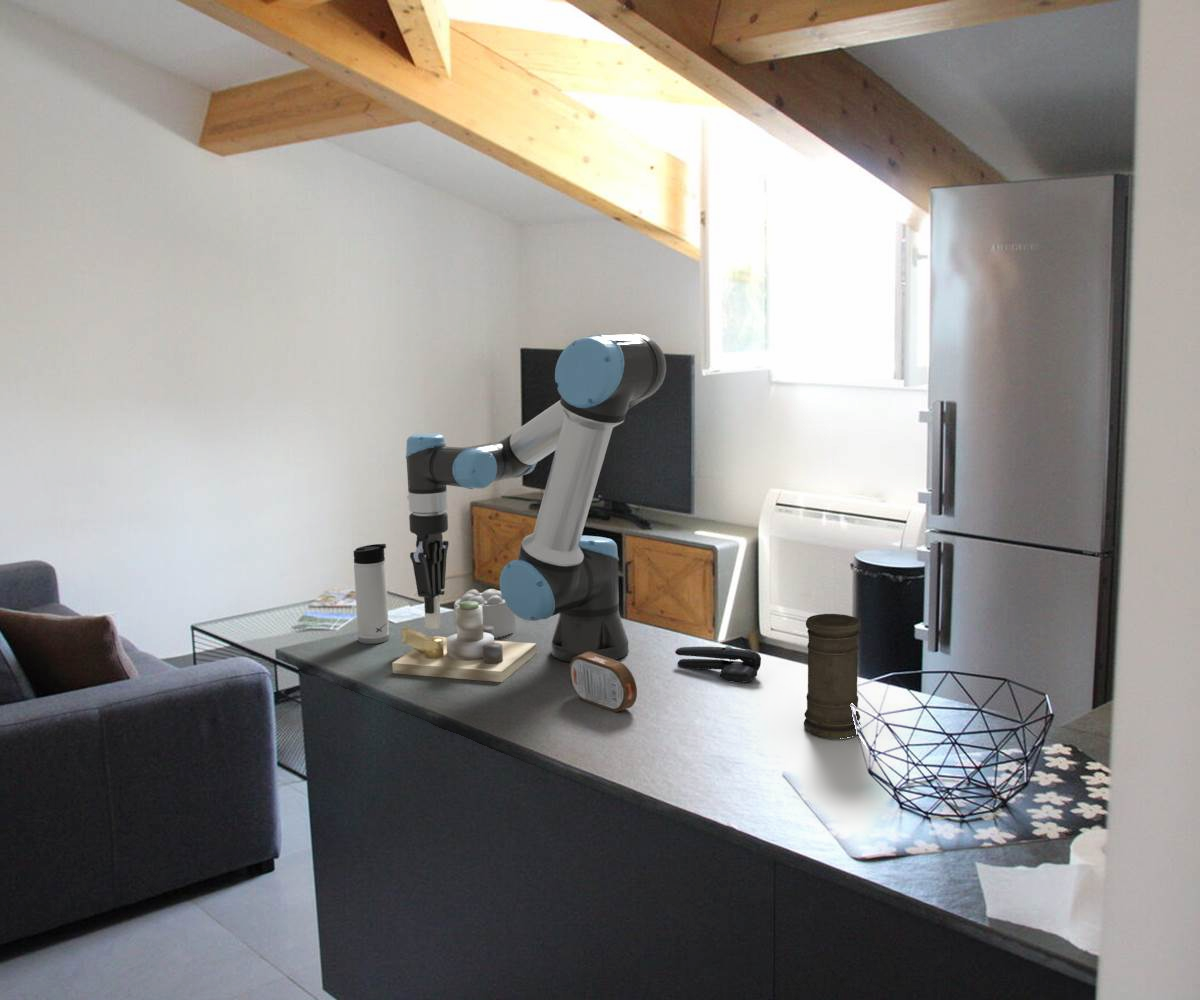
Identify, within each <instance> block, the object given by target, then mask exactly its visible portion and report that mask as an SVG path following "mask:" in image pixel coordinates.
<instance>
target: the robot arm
mask: <svg viewBox="0 0 1200 1000" xmlns="http://www.w3.org/2000/svg"><path fill="white" fill-rule="evenodd" d="M554 370H555V371H554V372H555V373H554V380H555V384H557V392H558V394H559V395H560V396H561V397H560V400H557V402H555V403H554V404H552V405H551V406H549V407H548V408H546V409H544V411H542V412H541V413H539V414H538V415H536V416H535V417H533V418H532V419H531V420H529V421H528V422H526V423H525V424H523V425H522V426H520V427H519V428H517V429H516V430H514V431H513V432H512V433H511V434H509V435H508V436H506V437H505V438H503V439H502V440H499V441H496V442H489V443H485V444H478V445H472V446H464V447H461V446H460V447H459V446H447V445H446V441H445V437H444V435H442V434H441V433H440V434H439V433H417V434H411V435H410V436H409V437H408V438H407V439H406V448H405V450H406V452H405V453H406V454H405V459H406V472H407V473H406V474H407V488H408V489H407V491H408V492H407V493H408V495H407V496H406V497H407V500H408V510H409V512H411V513H410V514H409V515H408V516H409V517H408V518H409V519H408V520H409V531H410V533H412V534H415V535H416V542H415V547H416V549H415V552H410V555H409V557H410V558H409V559H410V561H411V562H412V566H413V571H414V572H413V573H414V578H415V584H416V585H415V586H416V592H417V596H418V597H419V598H423V601H424V602H423V604H424V626H425V627H424V628H425V629H431V630H432V629H433V630H438V629H440V628H441V626H442V622H441V621H442V620H441V604H440V603H441V602H440V601H441V600H440V595H441V596H444V595H445V592H446V591H445V590H444V589H445V587H446V574H447V573H446V572H447V557H448V556H447V553H448V548H449V543H450V542H449V541H448V540H443V533H445V532H447V531H448V530H449V521H448V515H449V514H448V513H447V510H448V494H447V486H449V487H450V486H451V487H457V488H458V487H459V488H465V489H468V490H473V489H481V490H482V489H486V488H488V487H489V486H490V484H491V483H494V482H497V481H502V480H507V479H516V478H521V477H523V476H524V475H525V476H526V475H528V474H530V473H532V472H533V471H534V470H535V467H536V465H537V464H538V462H540V461H541V460H543V459H544V458H546V457H547V456H549V455H550V454H552V453H553V452H554V455H553V459H552V461H551V467H550V470H549V473H548V477H547V481H546V484H545V485H546V486H545V487H544V488H545V489H544V492H543V496H542V500H541V502H540V507H539V510H538V514H537V518H536V521H535V525H534V528H533V532H532V533H531V534H529V535H526V536H524V537H523V539H522V541H521V545H520V548H519V551H518V555H517V559H512V560H511V561H509V562H508V563H507V564H506V565H505V566H504V567H503V568H502V569H501V572H500V576H499V591H501V594H502V597H503V598H504V599H505V603H506V605H507V606H508V608H509V609H510V610H511V611H512V612H513V613H514V614H515V615H516V616H517V618H520V619H521V620H523V621H527V622H537V621H541V620H547V619H549V618H551V617H553V616H556V615H558V619H557V622H556V626H555V628H554V631H553V635H552V639H551V643H550V645H551V647H550V648H551V651H550V652H551V655H552V657H554V658H555V659H557V660H560V661H562V662H568V663H571V661H572V659H573V658H575V657H576V656H579V655H581V654H583V653H585V652H593V653H596V654H598V655H601V656H604V657H607V658H610V659H613V660H616V661H618V660H619V659H622V658H624V657H626V656H627V655H628V653H629V652H630V651H629V648H630V646H629V639H628V635H627V633H626V630H625V626H624V623H623V621H622V618H621V615H620V610H619V609H620V605H619V600H620V598H619V593H620V592H619V561H620V557H619V555H618V545H617V543H616V542H615V540H613V539H612V538H607V537H603V536H597V535H596V536H594V535H583V532H584V528H585V524H586V522H587V518H588V516H589V511H590V508H591V505H592V502H593V498H594V494H595V491H596V486H597V484H598V480H599V476H600V472H601V470H602V467H603V464H604V460H605V455H606V454H607V453H606V452H607V449H608V445H609V442H610V439H611V436H612V432H613V429H614V428H615V427H618V426H619V425H621V424H622V423H624V421H625V419H626V415H627V413H628V410H630V409H631V408H633V407H634V406H635V405H638V404H639V403H641V402H642V401H644V400H646V399H647V398H649V397H651V396H652V395H653V394H655V393H656V392H657V391H658V390H659V389H660V387H661V386H662V384H663V383H664V380H665V377H666V373H667V362H666V357H665V354H664V351H663V350H662V349H661V348H660V346H659V344H657V343H656V341H654V340H653V339H651V338H650V337H648V336H646V335H644V334H639V333H623V334H608V335H604V334H594V335H589V336H586V337H582V338H578V339H575V340H574V341H573V342H571V343H569V344H568V345H567V346H566V347H565V348H564V349H563V351H562V352H561V353H560V355H559V357H558V359H557V362H556V364H555V369H554Z"/></svg>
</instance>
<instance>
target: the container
mask: <svg viewBox="0 0 1200 1000" xmlns="http://www.w3.org/2000/svg"><path fill="white" fill-rule="evenodd" d="M805 626H806V628H807V631H806V632H807V635H808V643H807V645H806V647H807V693H806V709H805V712H804V714H803V715H804V717H805V719H804V721H803V727H804V730H805V732H806V733H808V734H809V735H811V736H814V737H817V738H821V739H825V738H826V740H834V739H840V738H841V739H840V740H843V739H842V738H847V737H852V736H855V737H857V736H858V735H856V729H855V725H854V721H853V717H852V710H851V707H850V704H851V703H853V704H854V705H855V706H856V707H858V708H859V704H858V703H859V695H858V667H859V666H858V664H859V661H858V660H859V659H858V655H859V654H858V651H859V645H858V638H859V635H860V631H859V630H860V628H861V626H862V624H861V621H860V619H859V618H857V617H855V616H851V615H849V614H848V615H847V614H840V613H822V614H821V613H820V614H815V615H812V616H809V617H807V619H806V620H805ZM856 716H857V720H858V721H859V724H860V725H861V722H860V719H861V716H860V712H859V710H858V711H856ZM861 726H862V725H861ZM852 738H853V737H852Z"/></svg>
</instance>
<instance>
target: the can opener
mask: <svg viewBox="0 0 1200 1000" xmlns="http://www.w3.org/2000/svg"><path fill="white" fill-rule="evenodd" d="M674 653H675V654H676V655H677V656H685V657H698V658H682V659H679V660H678V661H677V666H678V667H680V668H685V669H690V670H691V669H692V670H719V671H720V672H719V674H718V676H719V678H720V679H721V680H723V681H726V682H731V683H740V684H741V683H747V682H749V681H751V680H753V679H754V678H756V677H758V671H759V670H760V668H761V664H762V657H761V655H760V654H759V652H757V651H754V650H751V649H741V648H733V647H732V646H730V645H725V647H721V646H684V647H683V646H682V647H678V648H677V649H675V651H674ZM699 657H700V658H699ZM737 660H740V661H737Z"/></svg>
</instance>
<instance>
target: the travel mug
mask: <svg viewBox="0 0 1200 1000" xmlns="http://www.w3.org/2000/svg"><path fill="white" fill-rule="evenodd" d="M386 548H387V545H386V543H377V544H375V543H374V544H368V545H363V546H359V547H357V548H355V550H353V568H354V569H353V571H354V587H355V588H354V589H355V603H356V604H355V608H356V621H357V633H358V634H357V640H358V642H359V643H361V644H365V645H366V644H367V645H375V644H382V643H385V642H388V640H390V631H389V630H390V623H389V610H388V609H389V608H388V605H389V604H388V592H387V591H388V590H387V588H388V587H387V573H386V572H387V571H386V570H387V569H386V558H385V549H386Z"/></svg>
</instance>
